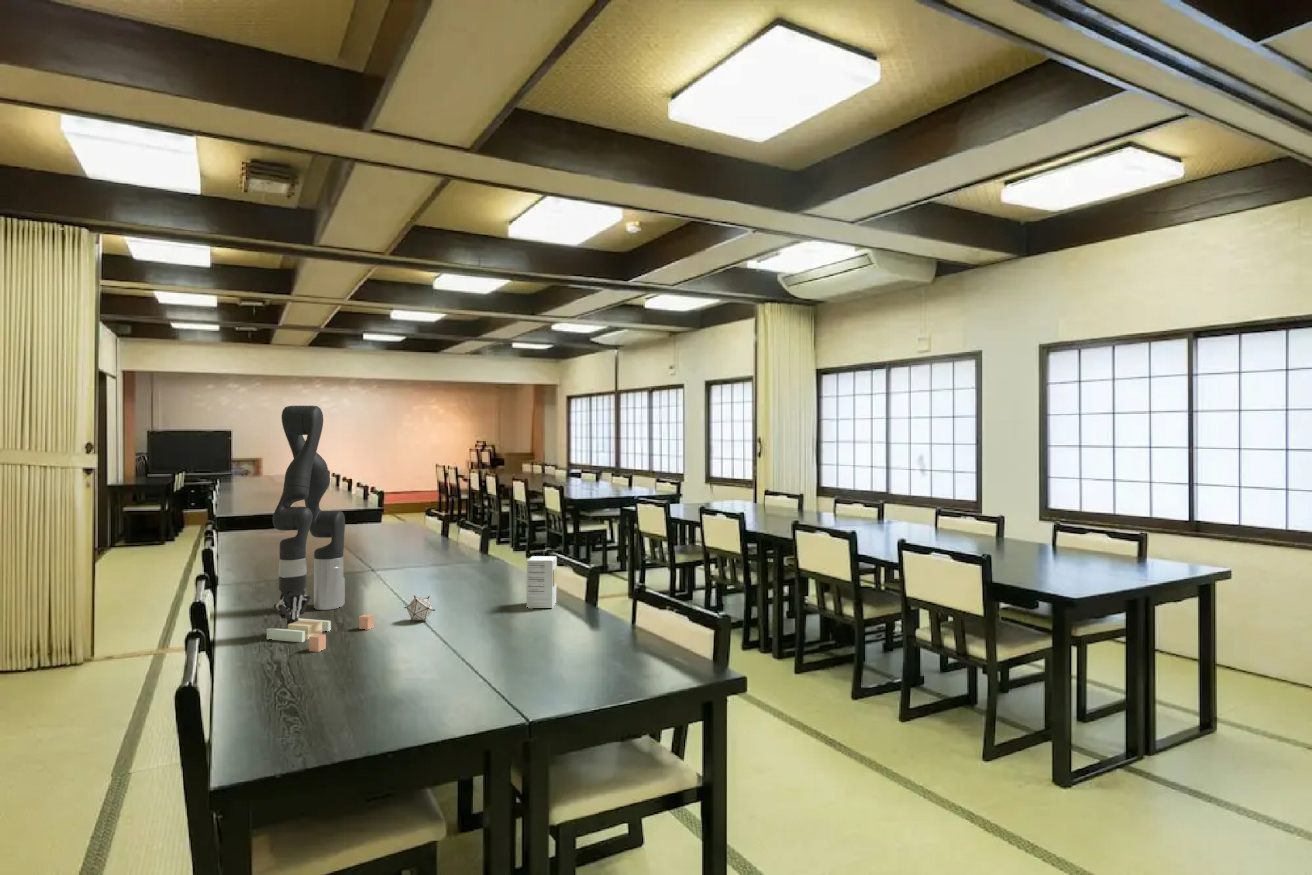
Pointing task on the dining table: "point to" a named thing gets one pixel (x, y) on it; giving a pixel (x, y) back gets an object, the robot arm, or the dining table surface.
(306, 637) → the maple block
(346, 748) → the dining table surface
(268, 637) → the white blocks
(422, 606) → the game die
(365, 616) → the gate posts
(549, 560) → the supplement box
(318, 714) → the dining table surface
